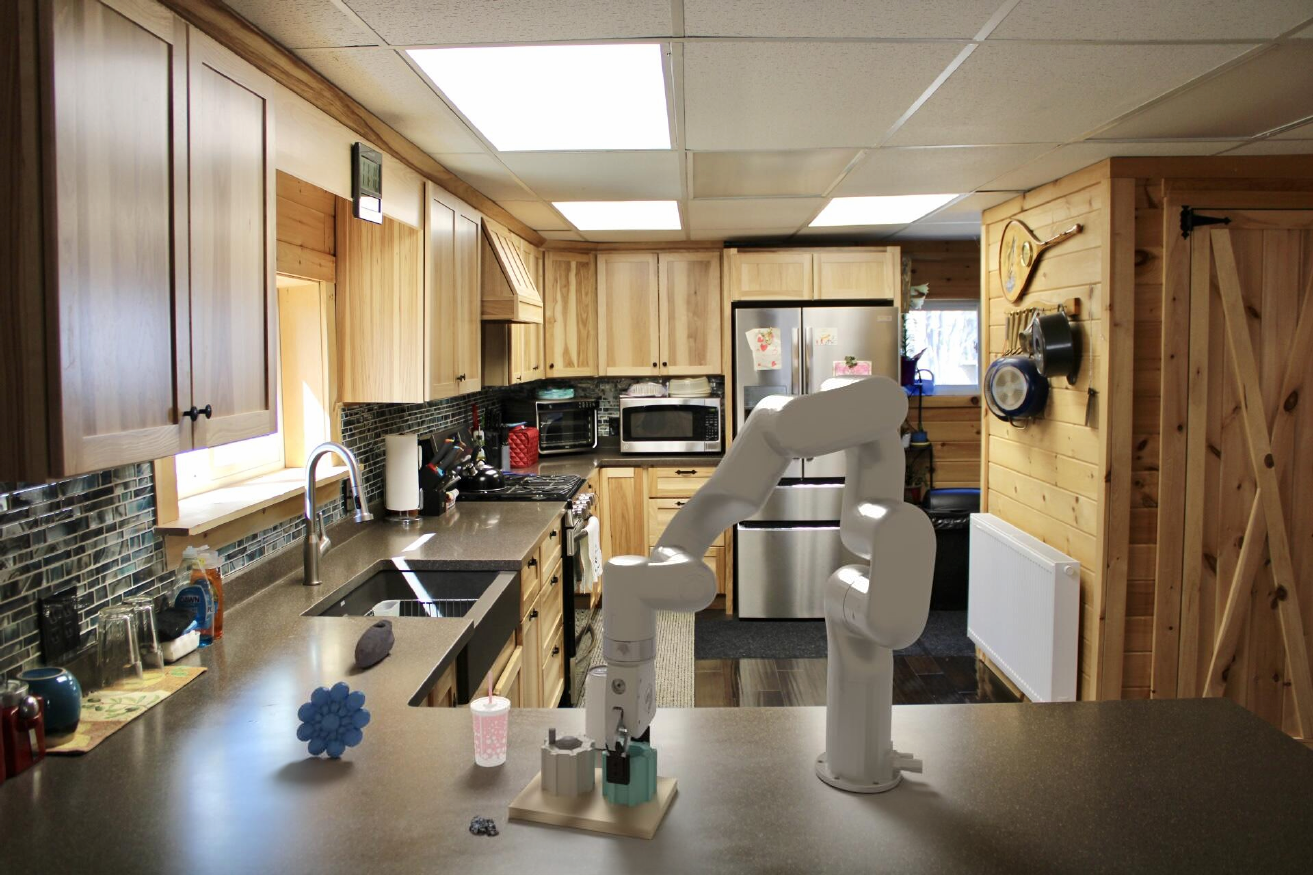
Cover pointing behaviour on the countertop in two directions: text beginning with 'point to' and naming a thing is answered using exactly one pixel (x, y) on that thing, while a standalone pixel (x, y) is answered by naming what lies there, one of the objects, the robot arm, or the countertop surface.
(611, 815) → the board
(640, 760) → the teal gear
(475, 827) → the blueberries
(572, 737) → the gear
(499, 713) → the beverage cup
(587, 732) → the can
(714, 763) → the countertop surface
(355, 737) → the blue flower ornament
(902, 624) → the robot arm
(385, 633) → the perforated stone tool
